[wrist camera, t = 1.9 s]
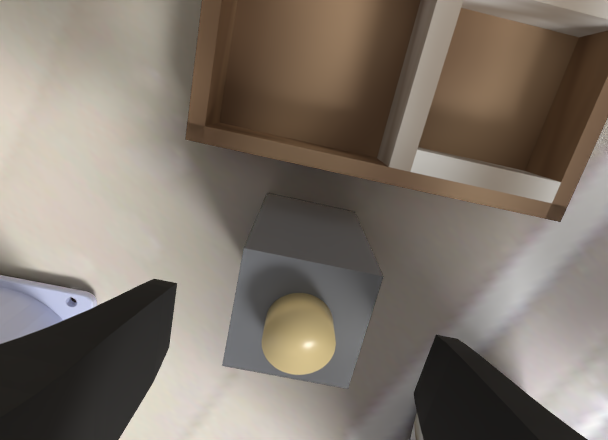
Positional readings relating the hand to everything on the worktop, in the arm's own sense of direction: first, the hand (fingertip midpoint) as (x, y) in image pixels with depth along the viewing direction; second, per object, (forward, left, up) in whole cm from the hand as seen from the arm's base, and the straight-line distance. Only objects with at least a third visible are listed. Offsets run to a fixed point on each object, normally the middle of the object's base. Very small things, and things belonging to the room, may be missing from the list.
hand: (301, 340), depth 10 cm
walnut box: (+2, +8, -7) cm, 11 cm away
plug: (0, 0, -7) cm, 7 cm away
